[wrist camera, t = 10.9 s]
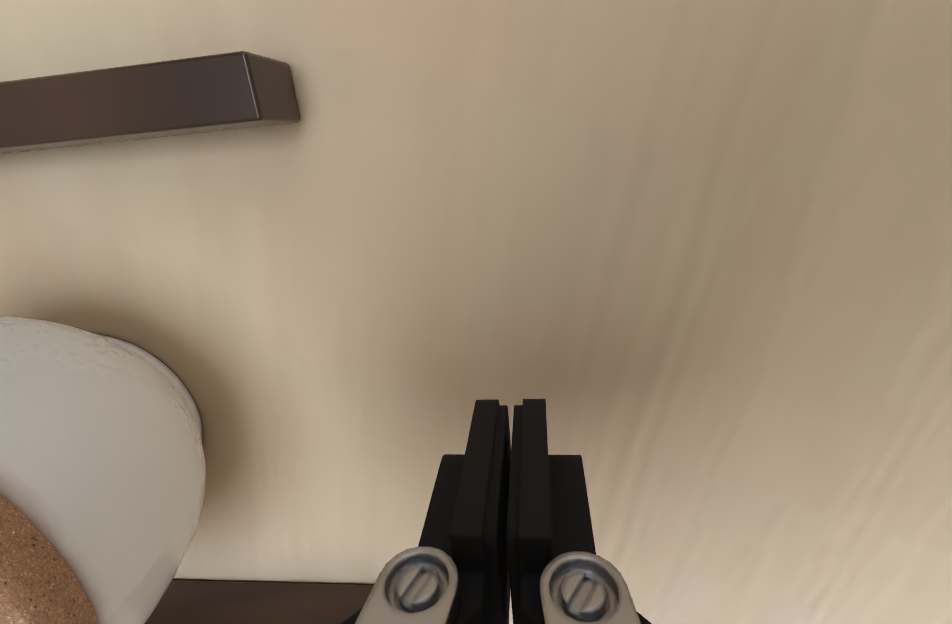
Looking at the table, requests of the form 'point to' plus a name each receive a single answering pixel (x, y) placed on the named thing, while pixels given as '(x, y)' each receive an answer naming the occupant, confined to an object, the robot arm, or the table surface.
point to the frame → (156, 115)
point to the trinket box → (91, 476)
